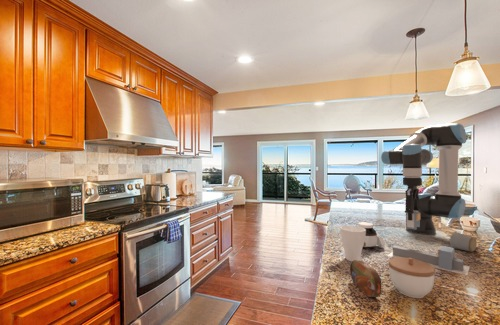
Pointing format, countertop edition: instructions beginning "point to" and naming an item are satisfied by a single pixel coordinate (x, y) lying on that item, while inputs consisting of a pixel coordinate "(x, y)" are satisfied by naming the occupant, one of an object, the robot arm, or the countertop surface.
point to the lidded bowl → (411, 276)
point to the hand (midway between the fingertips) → (412, 225)
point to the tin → (365, 278)
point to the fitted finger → (445, 257)
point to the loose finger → (415, 220)
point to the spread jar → (371, 236)
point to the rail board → (429, 259)
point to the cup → (353, 241)
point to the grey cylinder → (463, 242)
